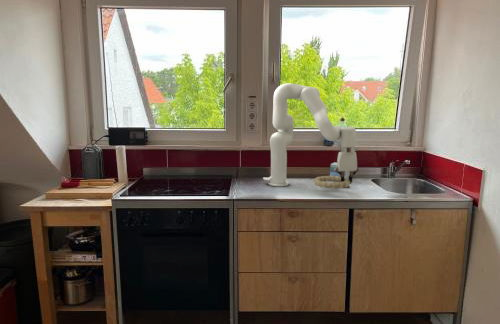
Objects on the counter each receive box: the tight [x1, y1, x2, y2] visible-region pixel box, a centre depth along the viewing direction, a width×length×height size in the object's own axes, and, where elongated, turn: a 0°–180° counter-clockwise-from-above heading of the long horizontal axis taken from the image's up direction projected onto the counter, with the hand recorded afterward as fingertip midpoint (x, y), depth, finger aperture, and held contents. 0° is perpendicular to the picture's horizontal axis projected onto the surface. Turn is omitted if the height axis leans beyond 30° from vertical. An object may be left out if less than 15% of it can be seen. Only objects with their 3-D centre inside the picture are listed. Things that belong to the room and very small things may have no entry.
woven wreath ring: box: [312, 175, 351, 190], centre depth 189 cm, size 19×20×3 cm
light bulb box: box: [329, 162, 350, 180], centre depth 218 cm, size 11×7×11 cm, turn 55°
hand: (346, 183), depth 189 cm, fingers closed on woven wreath ring, 3 cm apart
